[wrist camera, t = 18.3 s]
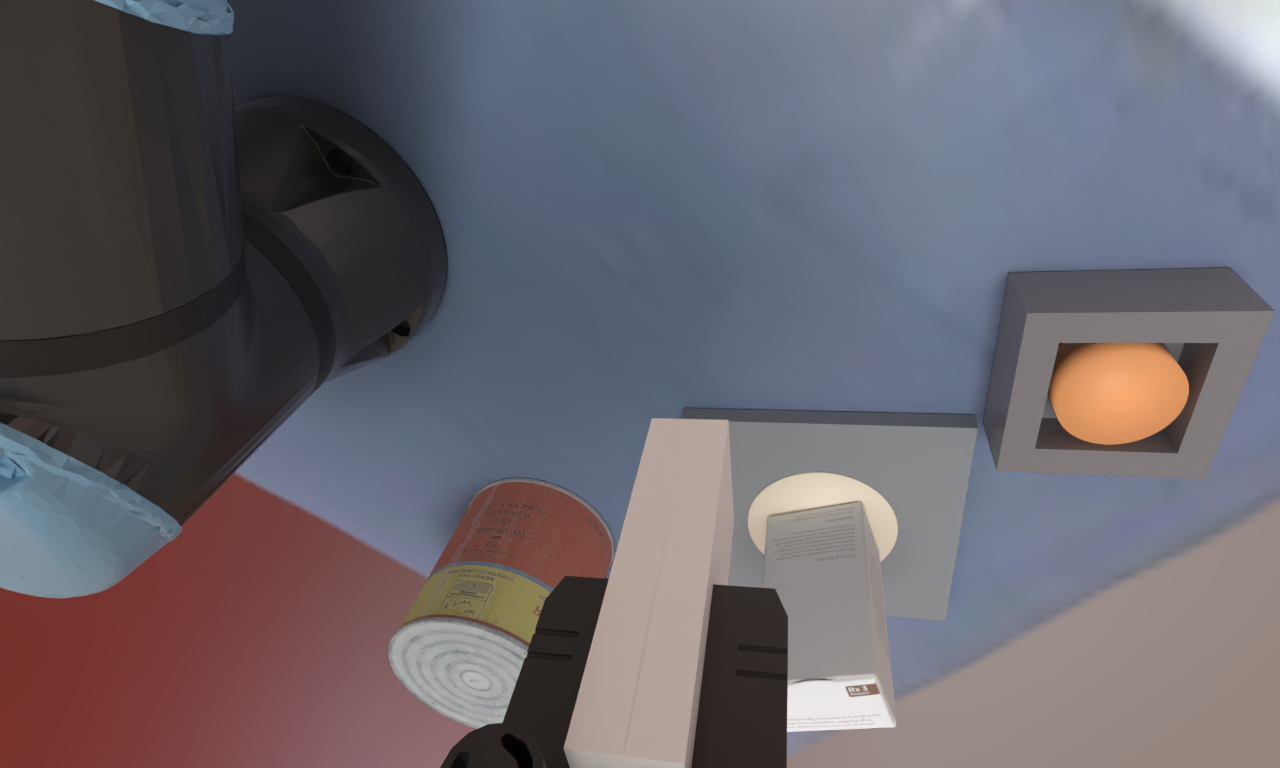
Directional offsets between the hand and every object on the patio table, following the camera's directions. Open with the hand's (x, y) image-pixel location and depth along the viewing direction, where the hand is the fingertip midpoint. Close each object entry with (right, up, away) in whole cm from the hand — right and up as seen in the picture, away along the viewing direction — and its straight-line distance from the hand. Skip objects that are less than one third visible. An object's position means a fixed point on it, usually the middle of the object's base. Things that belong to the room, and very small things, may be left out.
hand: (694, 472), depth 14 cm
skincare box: (+10, -7, +30) cm, 32 cm away
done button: (+21, +2, +20) cm, 29 cm away
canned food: (-8, -9, +38) cm, 40 cm away
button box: (+21, +3, +21) cm, 30 cm away
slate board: (+10, -6, +31) cm, 33 cm away
